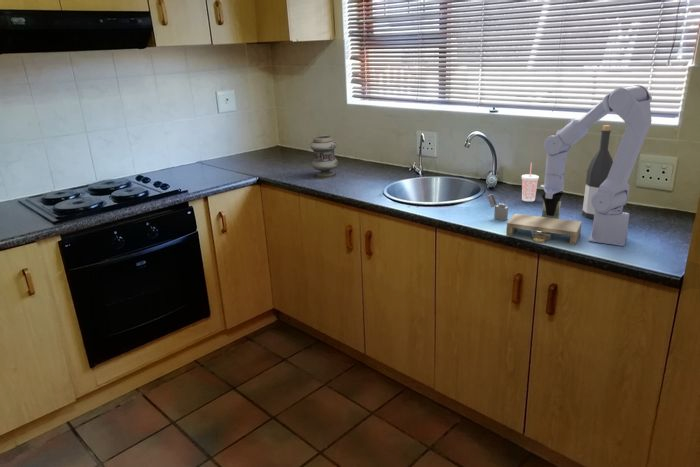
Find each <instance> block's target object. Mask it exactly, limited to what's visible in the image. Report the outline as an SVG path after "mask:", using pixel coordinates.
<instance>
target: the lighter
mask: <svg viewBox="0 0 700 467" xmlns="http://www.w3.org/2000/svg"><path fill="white" fill-rule="evenodd" d="M486 197H487V199H488V202H489V204H490V207H491V208H492V207H493V208H494V214H493V215H494V216H493V218H494V219H496V220H499V221H507V220H508V217H509V207H508V206H506V204H504V203H503V202H502V203H501V202H499V203H498V202H497V201H496V197H495V195H494V193H490V194H488V195H487V196H486ZM497 203H498V204H497Z"/></svg>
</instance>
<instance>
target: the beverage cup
mask: <svg viewBox="0 0 700 467" xmlns="http://www.w3.org/2000/svg"><path fill="white" fill-rule="evenodd" d="M532 169H533V162H530V167H529V174H527V173H525V174H522V175H521V200H522V201H524V202H530V203H531V202H534V201H536V194H537V189H538V188H537V187H538V181H539V179H540V176H539V175H537V174H533V173H532Z"/></svg>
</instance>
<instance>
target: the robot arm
mask: <svg viewBox="0 0 700 467" xmlns="http://www.w3.org/2000/svg"><path fill="white" fill-rule="evenodd" d="M652 100H653V97H652V96H651V94H650V92H649V90H648V89H647V88H646V87H645V86H643V85H639V84H637V85H636V84H635V85H633V86H628V87H618V88H615V89H614V90H612V91H611V92H610V93H608V94H606V95H605V96H604V97H603V99H601V100H600V101H599V102H598V103H597V104H595V106H593V107H592V108H591V109H590V110H589V111H588V112H587V113H586V114H585V115H583V116H582V117H581V118H574V119H573V118H572V119H568V121H566V125H565V126H564V127H563V128H561V129H558V130H557V131H556V132H555V135H549V136H547V137H546V138H545V140H544V142H543V149H544V152H545V153H546V160H545V171H544V172H545V173H544V180H543V181H544V183H543V184H541V185H540V186H539V189H542V190H543V191H544V192H542V194H541V197H542V200H543V201H544V203H545V207H546V214H547V215H549V216H554V213H555V210H556V206H557V203H558V201H559V200H561V198H562V197H563V195H564V193H565V192H564V188H565V187H564V183H565V174H566V173H565V172H566V164H567V157H568V153H569V151H570V150H571V149H572V146H573V145H574V144H575V143H577V142H579V140H581V139H582V138H583V137H585V136H586V135H587V134H588V131H589V128H590V127H592V126H593V125H594V124H595V123H597V122H598V121H600V120H601V119H603V118H604V117H605V116H607V115H608V114H610V113H611V112H614V113H615V114H616V115H617V116H619V118H621V119H622V120H623V121H624V123H625V125H626V128H625V130H624V132H623V135H622V136H621V137H622V138H621V141H620V143H619V145H618V148H617V150H616V154H615V155H614V159H613V164H612V166H611V169H610V171H609V174H608V177H607V179H606V180H605V181H604V182H603V183H602V184H601V185H600V186H599V189H598V191H597V192H596V193H595V194H594V195H593V196H592V199H591V204H592V206H593V208H594V209H595V210H594V211H595V213H594V219H593V221H592V222H593V224H592V231H591V233H590V235H589V238H588V241H589V242H592V243H600V244H608V245H613V246H620V247H621V246H622V247H623V246H625V245H626V239H627V238H628V234H629V231H628V228H629V227H628V226H629V220H630V213H629V212H626V211H625V212H624V211H623V209H624V206H626V204H628V202H629V198H630V194H629V191H630V188H631V185H630V184H629V182H628V181H629V180H630V177H631V174H632V172H633V169H634V167H635V164H636V162H637V159H638V156H639V154H640V152H641V149H642V147H643V145H644V142H645V139H646V137H647V134H648V133H649V129H650V127H651V125H652V112H651V111H652V110H651V101H652Z"/></svg>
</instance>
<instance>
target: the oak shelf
mask: <svg viewBox="0 0 700 467" xmlns="http://www.w3.org/2000/svg"><path fill="white" fill-rule="evenodd" d="M517 229H522V230H529V231H530V230H531V231H535V232H537V231H543V232H551V234H560V235H566V236H567V235H568V236H570V237H569V245H575V246H576V244H577V242H578V240H579V238H580V235H581V232H582V231H581V229H582V221H579V220H574V219H573V220H572V219H571V220H570V219H564V218H563V219H562V218H559V219H556V218H548V217H542V216H540V215H530V214H522V213H521V214H520V213H514V214H513V215H512V216H511V218H510V219H509V220H508V221H507V222H506V231H505V232H506V234H505V235H506V236H508V237H511V236H513V234H514V233H515V232H516V231H517Z"/></svg>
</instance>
